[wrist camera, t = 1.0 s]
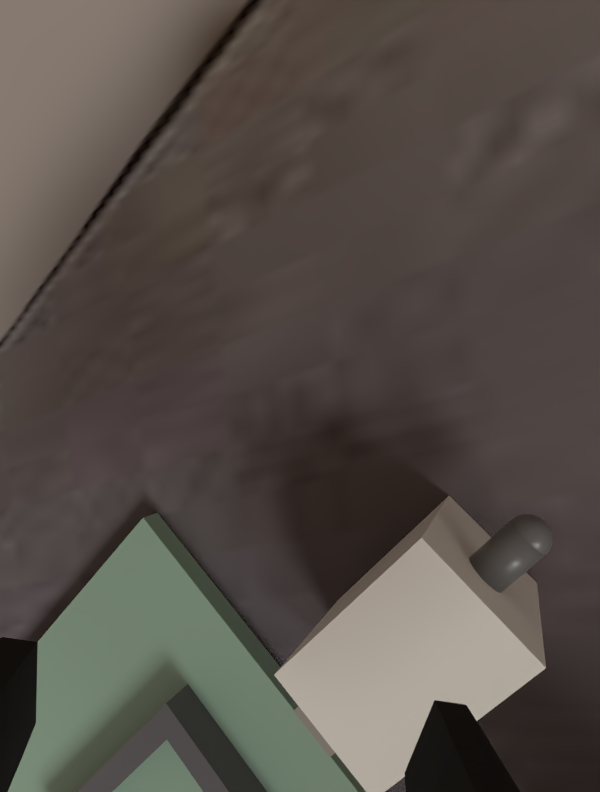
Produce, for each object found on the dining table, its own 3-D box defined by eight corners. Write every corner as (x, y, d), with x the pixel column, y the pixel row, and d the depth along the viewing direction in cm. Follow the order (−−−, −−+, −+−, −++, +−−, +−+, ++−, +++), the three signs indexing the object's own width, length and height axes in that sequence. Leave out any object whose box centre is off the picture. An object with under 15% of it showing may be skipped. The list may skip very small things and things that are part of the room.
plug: (587, 540, 17) (620, 610, 12) (395, 700, 20) (348, 820, 14) (494, 452, 19) (484, 478, 13) (322, 614, 21) (252, 695, 15)
